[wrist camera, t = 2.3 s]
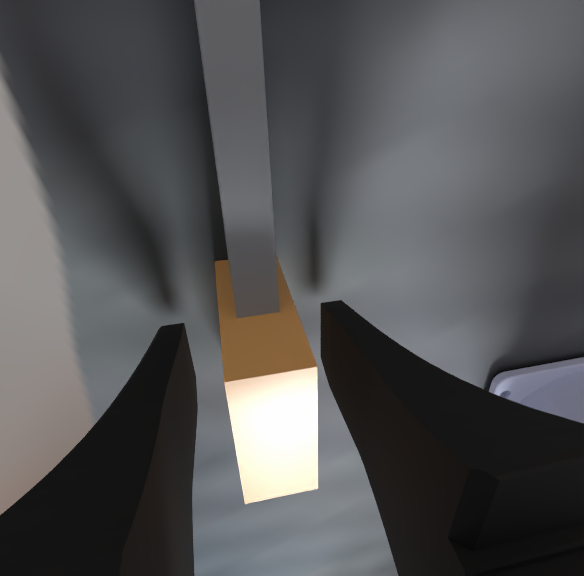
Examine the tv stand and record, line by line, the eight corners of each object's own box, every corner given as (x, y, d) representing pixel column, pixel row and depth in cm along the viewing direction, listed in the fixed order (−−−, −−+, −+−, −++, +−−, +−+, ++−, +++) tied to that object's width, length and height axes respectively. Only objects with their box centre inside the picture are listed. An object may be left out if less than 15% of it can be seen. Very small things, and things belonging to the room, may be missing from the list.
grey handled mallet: (282, 356, 14) (317, 488, 10) (230, 364, 14) (244, 503, 10) (239, -306, 7) (311, -874, 3) (126, -315, 6) (-4, -971, 2)
